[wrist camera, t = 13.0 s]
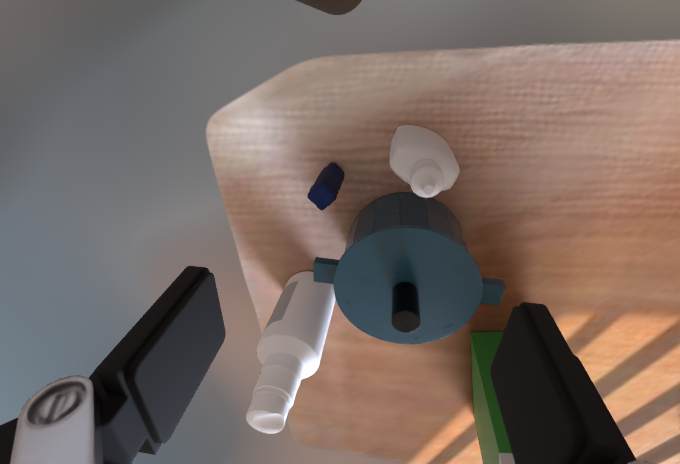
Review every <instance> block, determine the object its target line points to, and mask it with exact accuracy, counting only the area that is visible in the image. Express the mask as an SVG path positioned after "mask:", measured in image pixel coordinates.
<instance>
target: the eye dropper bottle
mask: <svg viewBox="0 0 680 464" xmlns="http://www.w3.org/2000/svg"><path fill="white" fill-rule="evenodd" d="M389 164H390V167H391V169H392V170H393V171H394V172H395V174H396V175H398V176H399V177H400V178H401V179H402V180H404V181H405V182H407V183H408V184H410V186H411V188H412V191H413V192H414V193H416V194H417V195H418V196H420V197H423V198H424V197H425V198H429V197H433V196H435V195H437V194H438V193H439V192H440V191H446V190H449V189H450V188H451V187H452V186H453V184H454V182H455V181H456V179H457V177H458V175H459V172H460V169H459V166H458V163H457V161H456V159H455V156H454V154H453V152H452V150H451V148H450V146H449V144H448V143H447V142H446V141H445V140H444V139H443V138H442V137H441V136H439V135H438V134H437V133H435V132H433V131H431V130H429V129H427V128H424V127H420V126H415V125H401V126H399V127H398V128H397V129H396V131H395V134H394V136H393V138H392V141H391V147H390V159H389Z"/></svg>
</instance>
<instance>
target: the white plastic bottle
mask: <svg viewBox="0 0 680 464" xmlns="http://www.w3.org/2000/svg"><path fill="white" fill-rule="evenodd" d="M335 299H336V298H335V294H334V286H333V285H332V284H327V283H320V282H314V272H311V271H303V272H300V273H297V274H295V275H293V276H292V277H291V278H290V279H289V280H288V282H287V284H286V286H285V288H284V290H283V292H282V294H281V296H280V298H279V301H278V303H277V305H276V307H275V309H274V311H273V313H272V315H271V317H270V320H269V322H268V324H267V326H266V328H265V330H264V332H263V334H262V337H261V339H260V341H259V343H258V347H257V355H258V358H259V361H260V362H261V364H262V365H263V367H262V370H261V372H260V377H259V379H258V382H257V384H256V386H255V389H254V391H253V399H252V402H251V405H250V407H249V409H248V412H247V415H246V420H247V422H248V423H249V424H250V426H251V427H253V428H255V429H256V430H258V431H260V432H264V433H270V434H272V433H277V432H279V431H281V430H282V429H283V427H284V424H285V420H286V417H287V414H288V412H289V410H290V408H291V407H292V406H293V402H294V399H295V396H296V392H297V389H298V387H299V385H300V382H301V379H304V378H307V377H309V376H311V375H313V374H314V372H315V371H316V370H317V369H318V367H319V363H320V359H321V355H322V351H323V347H324V343H325V339H326V335H327V331H328V327H329V323H330V319H331V315H332V311H333V307H334V303H335Z"/></svg>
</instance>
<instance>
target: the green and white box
mask: <svg viewBox="0 0 680 464" xmlns="http://www.w3.org/2000/svg"><path fill="white" fill-rule="evenodd" d="M503 333H504V331H500V332H474V333H470V341H471V363H472V385H473V407H474V419H475V424H476V429H477V434H478V440H479V445H480V450H481V455H482V460H483V464H515V461H514V458H513V454H512V451H511V447H510V444H509V440H508V436H507V433H506V429H505V426H504V422H503V419H502V415H501V411H500V408H499V404H498V401H497V397H496V394H495V390H494V386H493V383H492V379H491V373H490V372H491V365H492V362H493V359H494V357H495V354H496V352H497V349H498V346H499V344H500V341H501V339H502V336H503Z"/></svg>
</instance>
